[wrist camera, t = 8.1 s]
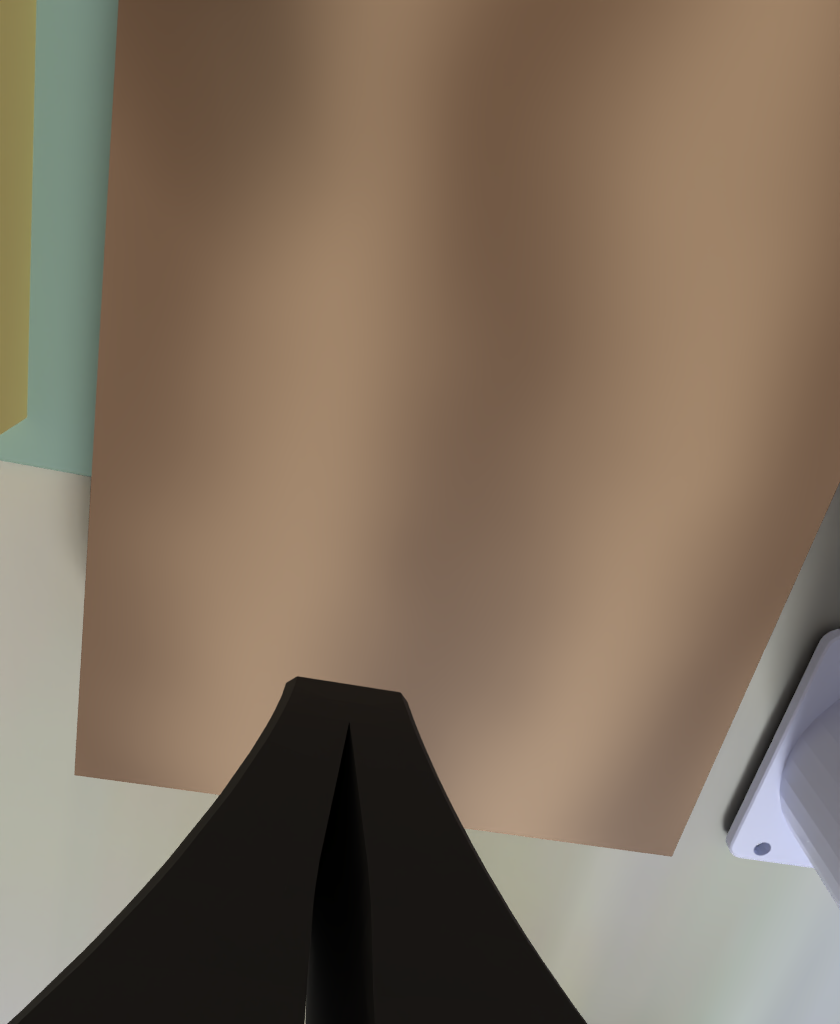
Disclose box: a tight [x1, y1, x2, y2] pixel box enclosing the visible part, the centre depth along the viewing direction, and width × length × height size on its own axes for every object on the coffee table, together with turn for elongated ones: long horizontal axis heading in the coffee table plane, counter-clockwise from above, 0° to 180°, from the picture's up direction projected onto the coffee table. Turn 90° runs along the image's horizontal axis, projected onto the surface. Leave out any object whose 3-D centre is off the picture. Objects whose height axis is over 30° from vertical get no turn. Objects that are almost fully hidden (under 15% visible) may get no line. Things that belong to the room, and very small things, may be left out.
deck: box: [75, 0, 840, 856], centre depth 16 cm, size 14×20×4 cm
